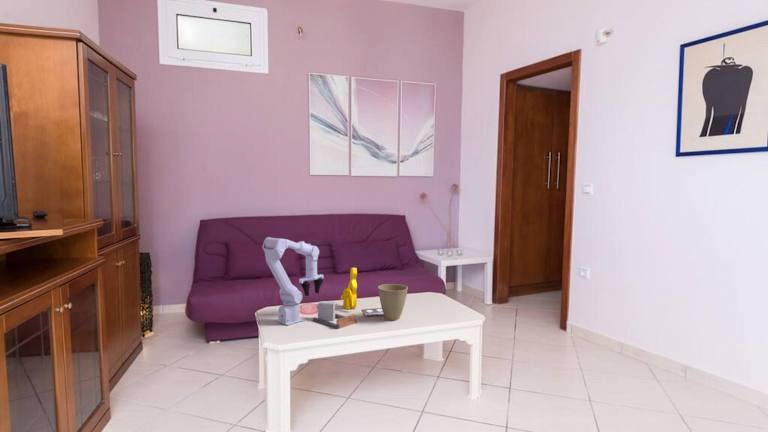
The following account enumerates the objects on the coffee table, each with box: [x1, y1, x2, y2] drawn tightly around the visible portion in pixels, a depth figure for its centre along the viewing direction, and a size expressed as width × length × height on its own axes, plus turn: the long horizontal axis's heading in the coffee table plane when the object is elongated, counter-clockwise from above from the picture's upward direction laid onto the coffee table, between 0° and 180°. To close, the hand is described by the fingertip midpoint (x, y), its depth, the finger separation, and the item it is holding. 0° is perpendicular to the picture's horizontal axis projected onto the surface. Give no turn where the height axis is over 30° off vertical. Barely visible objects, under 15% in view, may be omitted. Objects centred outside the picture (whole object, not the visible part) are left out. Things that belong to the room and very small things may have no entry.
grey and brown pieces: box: [312, 313, 358, 330], centre depth 214 cm, size 12×18×4 cm
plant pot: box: [377, 283, 409, 321], centre depth 220 cm, size 15×15×16 cm
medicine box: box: [317, 300, 336, 322], centre depth 218 cm, size 8×4×9 cm, turn 84°
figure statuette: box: [340, 267, 358, 310], centre depth 238 cm, size 18×8×22 cm, turn 26°
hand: (311, 294), depth 226 cm, fingers open, 6 cm apart
